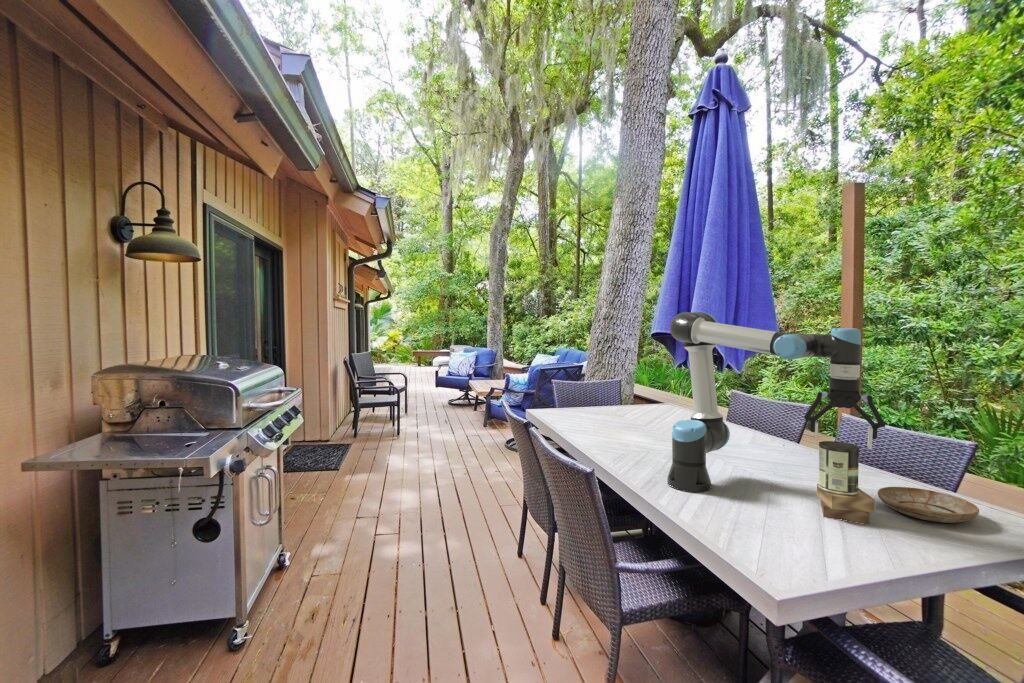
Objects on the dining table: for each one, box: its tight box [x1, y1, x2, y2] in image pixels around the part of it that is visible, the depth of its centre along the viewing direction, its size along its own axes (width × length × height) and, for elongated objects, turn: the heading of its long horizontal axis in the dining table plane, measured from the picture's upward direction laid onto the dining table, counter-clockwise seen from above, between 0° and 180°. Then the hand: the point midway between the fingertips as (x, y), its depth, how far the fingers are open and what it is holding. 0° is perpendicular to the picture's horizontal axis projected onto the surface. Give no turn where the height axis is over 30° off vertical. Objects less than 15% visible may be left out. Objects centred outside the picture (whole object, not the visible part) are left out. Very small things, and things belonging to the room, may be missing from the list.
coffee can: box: [818, 440, 860, 495], centre depth 141 cm, size 10×10×14 cm
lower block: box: [820, 499, 870, 525], centre depth 140 cm, size 11×11×4 cm
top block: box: [816, 483, 875, 513], centre depth 140 cm, size 11×11×4 cm
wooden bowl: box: [877, 486, 980, 524], centre depth 140 cm, size 23×24×5 cm
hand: (842, 445), depth 140 cm, fingers open, 13 cm apart
